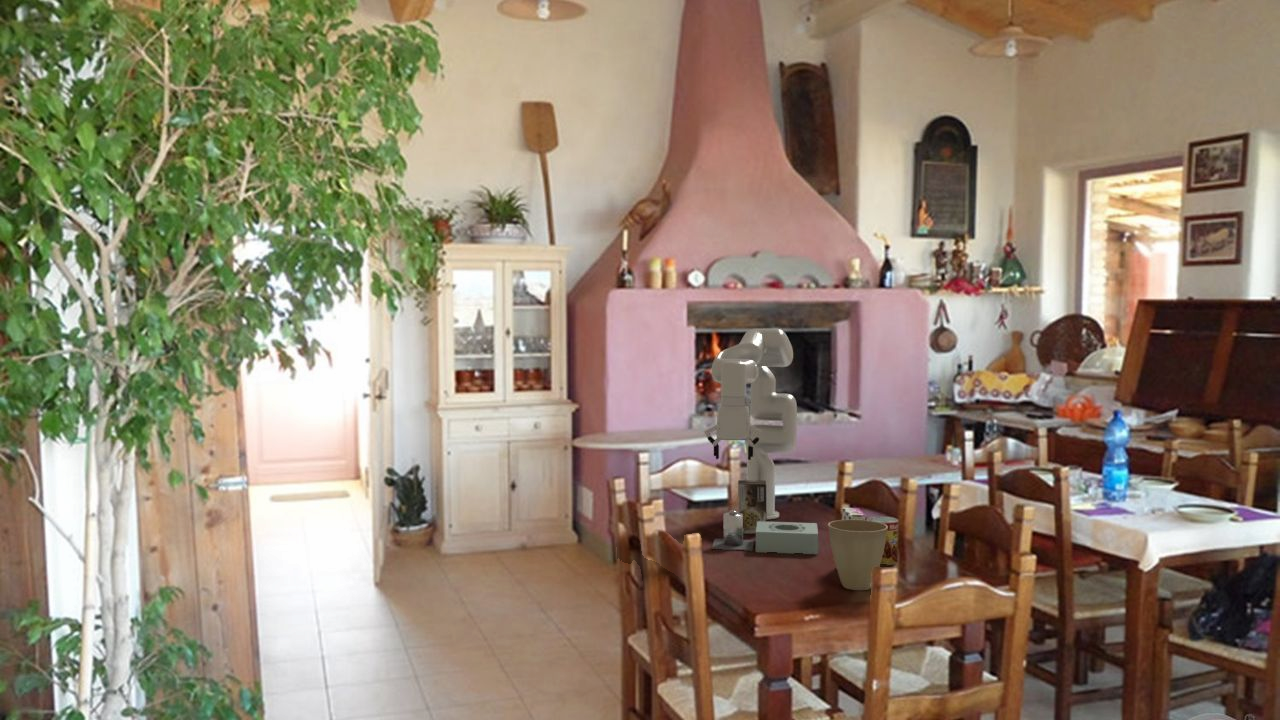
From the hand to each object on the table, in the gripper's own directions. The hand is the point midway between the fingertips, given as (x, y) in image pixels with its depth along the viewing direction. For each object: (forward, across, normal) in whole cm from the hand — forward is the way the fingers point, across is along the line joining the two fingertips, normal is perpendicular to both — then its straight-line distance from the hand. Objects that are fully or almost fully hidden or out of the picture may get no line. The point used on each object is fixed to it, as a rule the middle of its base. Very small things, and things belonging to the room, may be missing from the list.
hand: (733, 458), depth 286 cm
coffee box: (+26, -5, -19) cm, 33 cm away
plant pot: (+26, -34, +38) cm, 57 cm away
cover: (+26, 0, 0) cm, 26 cm away
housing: (+26, -16, 0) cm, 31 cm away
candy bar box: (+26, -34, +23) cm, 49 cm away
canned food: (+26, -43, +12) cm, 52 cm away
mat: (+26, 0, 0) cm, 26 cm away
